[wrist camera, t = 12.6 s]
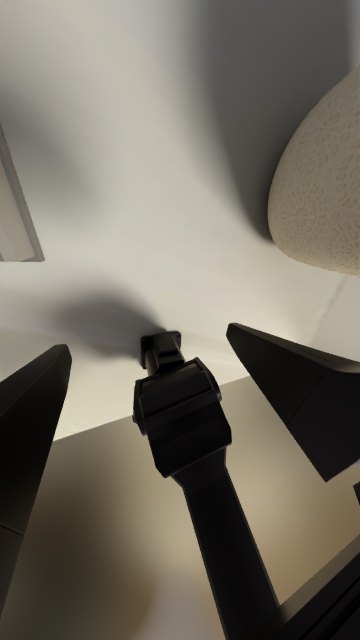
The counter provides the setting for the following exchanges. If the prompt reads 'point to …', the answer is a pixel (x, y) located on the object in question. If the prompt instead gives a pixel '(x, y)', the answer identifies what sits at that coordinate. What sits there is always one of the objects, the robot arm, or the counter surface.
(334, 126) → the planter
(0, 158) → the dish rack
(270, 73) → the counter surface
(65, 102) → the counter surface
